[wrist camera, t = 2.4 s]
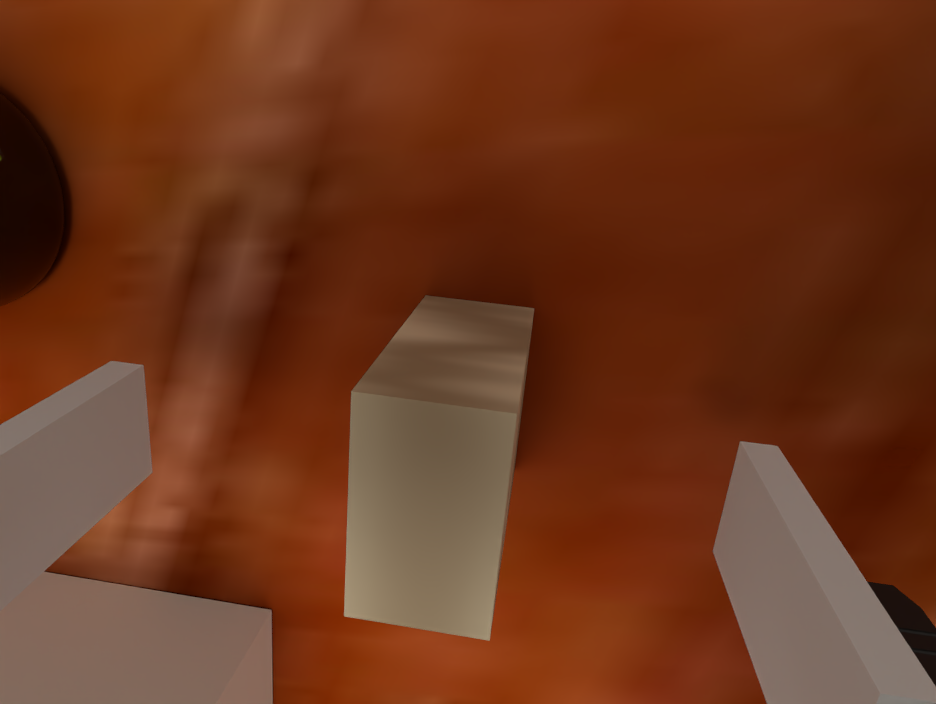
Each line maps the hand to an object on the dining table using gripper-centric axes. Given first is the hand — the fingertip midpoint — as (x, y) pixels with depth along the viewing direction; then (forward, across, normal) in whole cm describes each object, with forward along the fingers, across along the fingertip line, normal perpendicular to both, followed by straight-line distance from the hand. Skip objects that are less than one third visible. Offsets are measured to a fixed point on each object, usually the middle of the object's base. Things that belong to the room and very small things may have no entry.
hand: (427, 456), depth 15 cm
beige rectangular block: (+5, 0, 0) cm, 5 cm away
